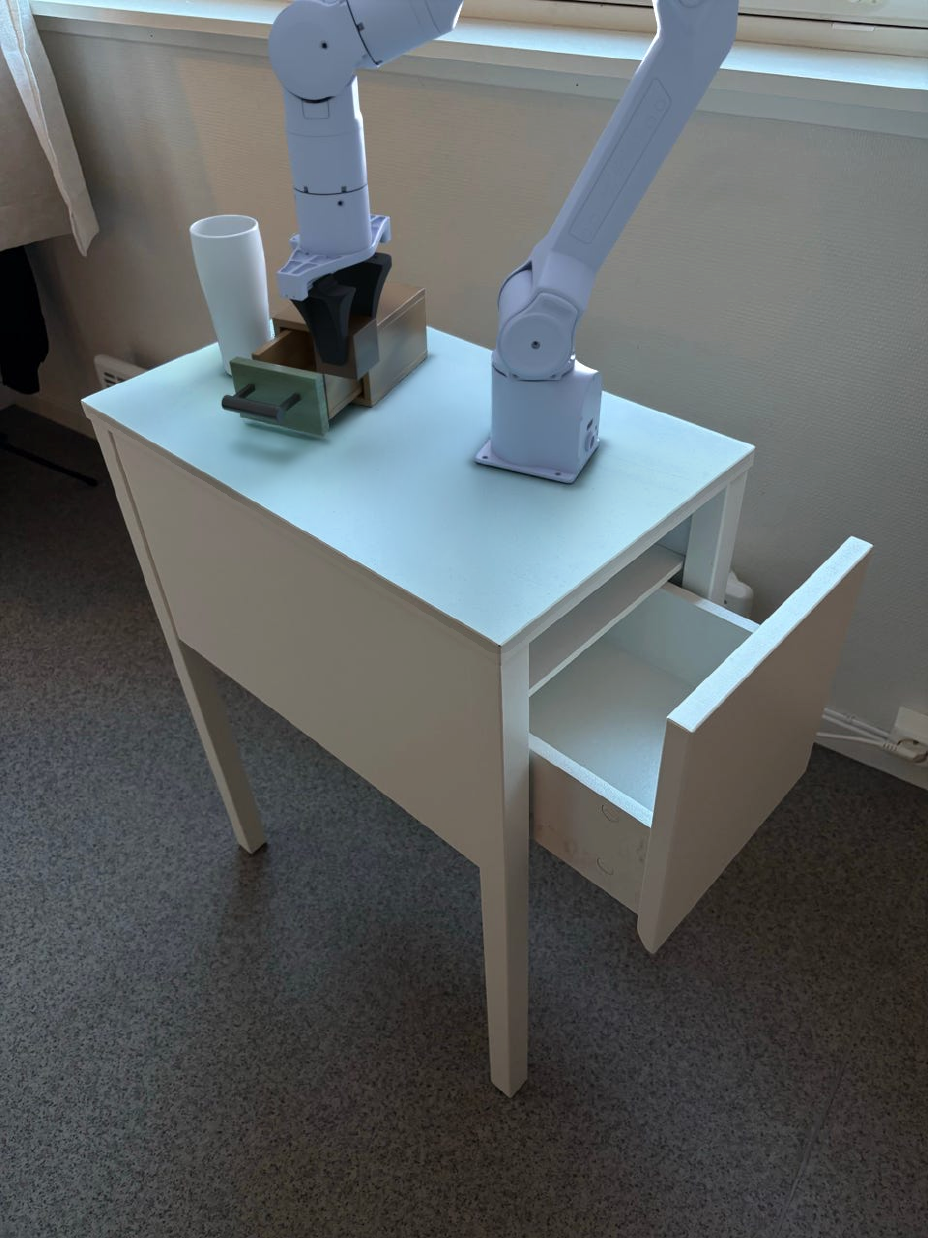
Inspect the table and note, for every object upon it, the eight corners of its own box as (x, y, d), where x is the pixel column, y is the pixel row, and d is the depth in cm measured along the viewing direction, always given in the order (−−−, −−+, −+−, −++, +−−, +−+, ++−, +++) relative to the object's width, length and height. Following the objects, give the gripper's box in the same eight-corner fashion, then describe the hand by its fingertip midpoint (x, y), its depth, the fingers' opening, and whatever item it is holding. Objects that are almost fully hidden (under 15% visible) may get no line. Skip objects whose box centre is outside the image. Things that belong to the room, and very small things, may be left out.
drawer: (298, 458, 83) (289, 399, 79) (213, 437, 86) (201, 380, 82) (381, 383, 94) (377, 329, 90) (303, 367, 97) (296, 314, 93)
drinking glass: (206, 368, 99) (175, 224, 89) (260, 349, 102) (235, 209, 92) (239, 390, 95) (210, 242, 85) (294, 369, 98) (272, 225, 89)
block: (379, 361, 81) (376, 317, 78) (357, 380, 78) (353, 335, 75) (340, 353, 82) (335, 310, 79) (317, 372, 79) (311, 328, 77)
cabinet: (372, 407, 92) (365, 334, 87) (282, 388, 95) (271, 317, 90) (428, 356, 100) (425, 287, 95) (344, 340, 104) (337, 273, 99)
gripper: (333, 154, 76) (348, 312, 85) (231, 205, 66) (261, 378, 75) (408, 162, 74) (416, 324, 83) (315, 217, 64) (335, 394, 73)
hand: (347, 351), depth 79 cm, fingers closed on block, 4 cm apart
